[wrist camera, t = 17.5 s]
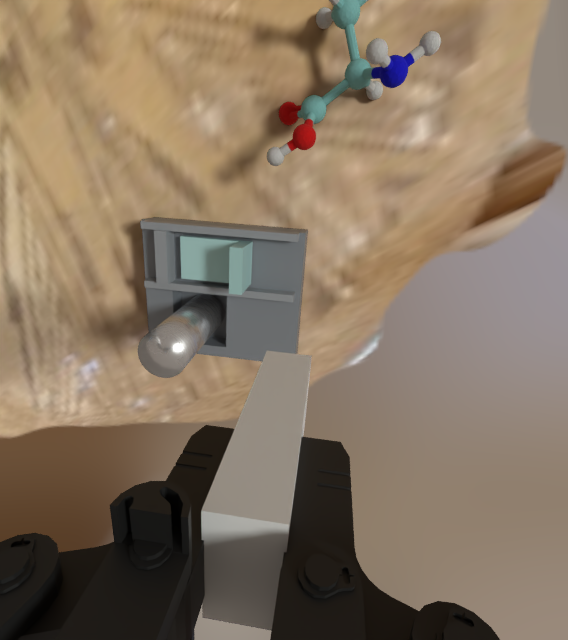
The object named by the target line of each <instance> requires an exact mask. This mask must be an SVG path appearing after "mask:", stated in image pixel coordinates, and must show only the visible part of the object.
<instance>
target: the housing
mask: <svg viewBox="0 0 568 640" xmlns="http://www.w3.org/2000/svg"><path fill="white" fill-rule="evenodd" d="M140 223H141V229H142V234H143V249H144V265H145V281H144V285H145V287H146V297H147V312H148V328H149V332H151V331H152V330H153V329H154V328H156V327H157V326H158V325H159V324H161V323H162V322H163V321H164V320H166V319H167V318H168V317H170V316H171V315H172V314H173V313H175V312H176V311H177V310H178V309H180V308H181V307H182V306H183V305H185V304H186V303H187V302H188V301H190V300H191V299H192V298H194V297H195V296H196V295H198V294H202V293H203V294H211V295H214V296H215V297H217V298H218V299H219V300H220V301H221V303H222V304H223V306H224V310H225V316H224V320H223V322H222V323H221V324H220V325H219V327H218V328H217V329H216V330H215V331H214V333H213V334H212V335H211V336H210V337H209V339H208V340H207V341H206V342H205V344H204V345H203V346H202V347H201V348H200V350H199V351H198V352H197V353H196V354H204V355H212V356H221V357H229V358H238V359H246V360H255V361H263V359H264V356H265V354H266V351H275V352H284V353H292V354H297V350H298V338H299V326H300V315H301V303H302V292H303V280H304V269H305V257H306V246H307V234H308V230H305V229H293V228H281V227H269V226H257V225H244V224H232V223H220V222H208V221H196V220H184V219H172V218H160V217H153V218H147V219H142V221H140ZM182 235H185V236H197V237H208V238H220V239H231V240H243V241H253V247H252V274H251V284H250V285H249V287H248V288H247V289H246V290H245V291H244V293H243V294H242V295H237V294H229V283H222V282H211V281H201V280H191V279H181V249H180V236H182Z"/></svg>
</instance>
